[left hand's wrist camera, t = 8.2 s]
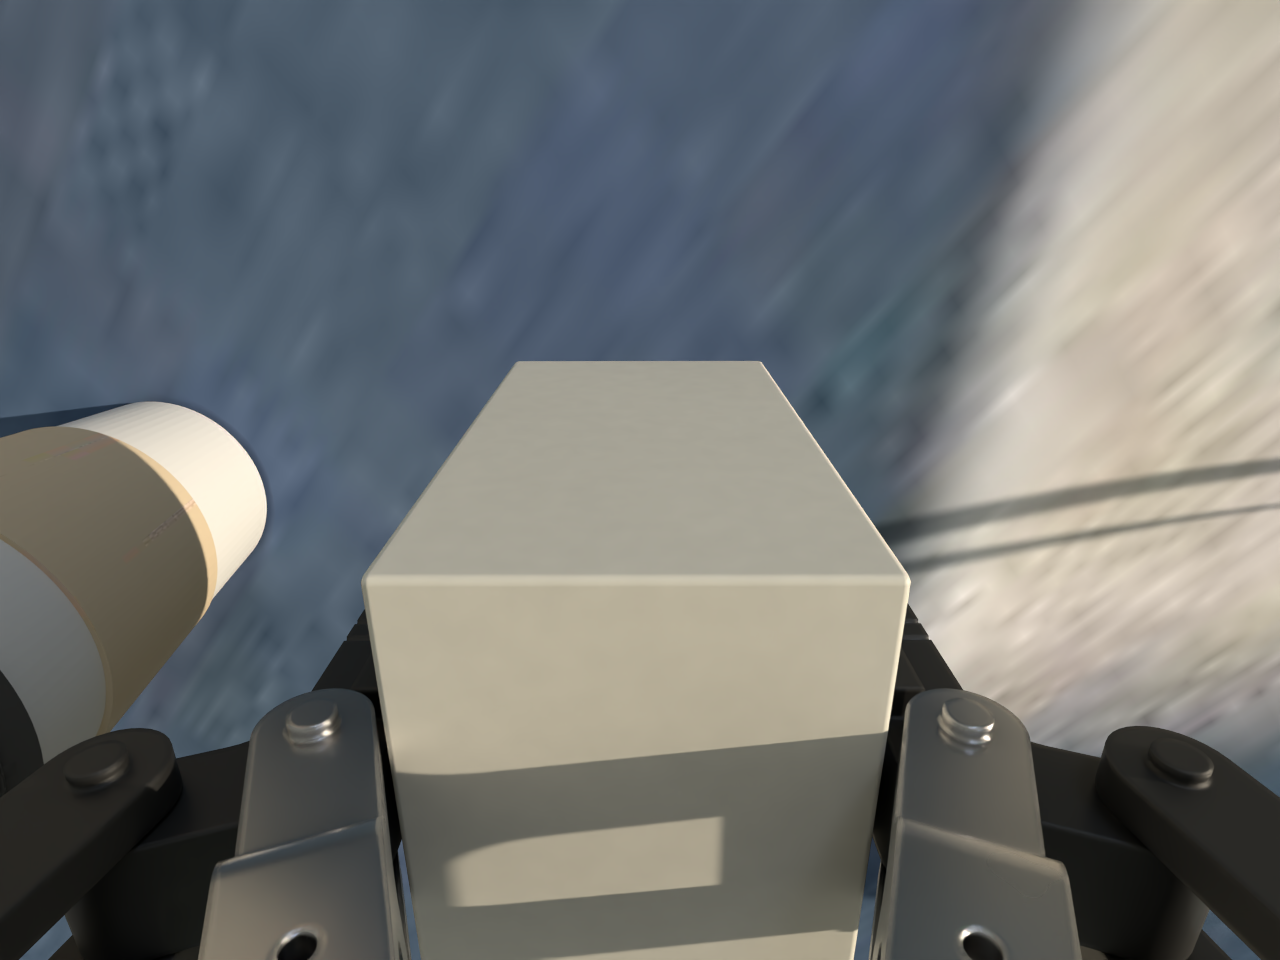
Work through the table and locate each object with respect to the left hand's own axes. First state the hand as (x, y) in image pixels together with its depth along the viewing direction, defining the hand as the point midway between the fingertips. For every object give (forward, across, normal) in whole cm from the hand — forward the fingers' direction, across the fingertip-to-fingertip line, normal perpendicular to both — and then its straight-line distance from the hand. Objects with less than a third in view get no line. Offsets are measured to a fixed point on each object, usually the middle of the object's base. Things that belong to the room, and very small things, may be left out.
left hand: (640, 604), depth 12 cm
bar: (+5, 0, -10) cm, 11 cm away
